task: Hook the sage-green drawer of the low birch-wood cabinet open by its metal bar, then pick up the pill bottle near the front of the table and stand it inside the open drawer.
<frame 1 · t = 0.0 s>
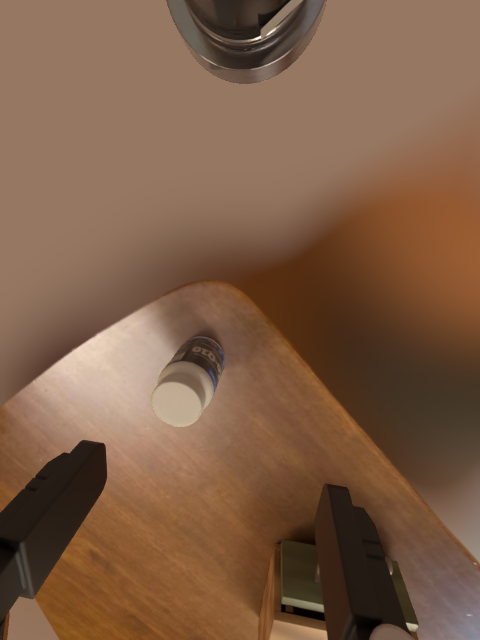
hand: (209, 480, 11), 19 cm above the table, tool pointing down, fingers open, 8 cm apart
pill bottle: (203, 355, 30), on the table
cabinet: (321, 594, 39), on the table
drawer: (334, 604, 34), point 4 cm above the table, slide at 1.0 cm
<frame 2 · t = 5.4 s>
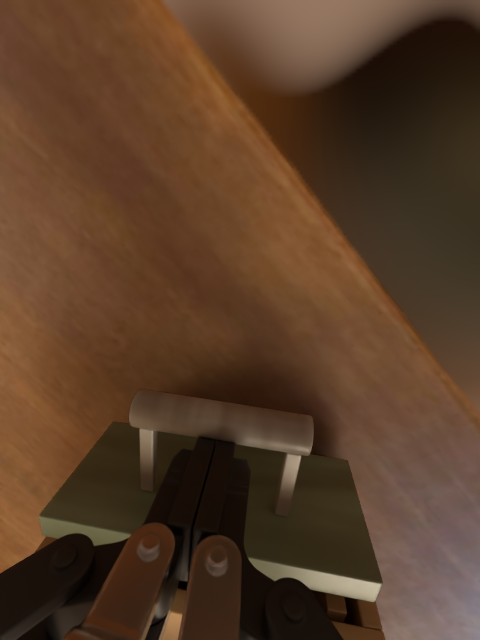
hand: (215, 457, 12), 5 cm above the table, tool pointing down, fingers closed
cabinet: (216, 545, 21), on the table
drawer: (210, 550, 16), point 4 cm above the table, slide at 1.3 cm, touching gripper
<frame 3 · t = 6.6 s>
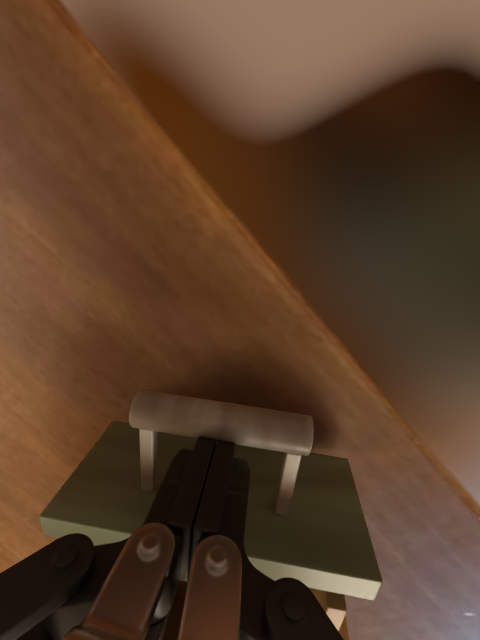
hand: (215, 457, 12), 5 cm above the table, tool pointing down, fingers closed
drawer: (211, 548, 16), point 4 cm above the table, slide at 5.6 cm, touching gripper
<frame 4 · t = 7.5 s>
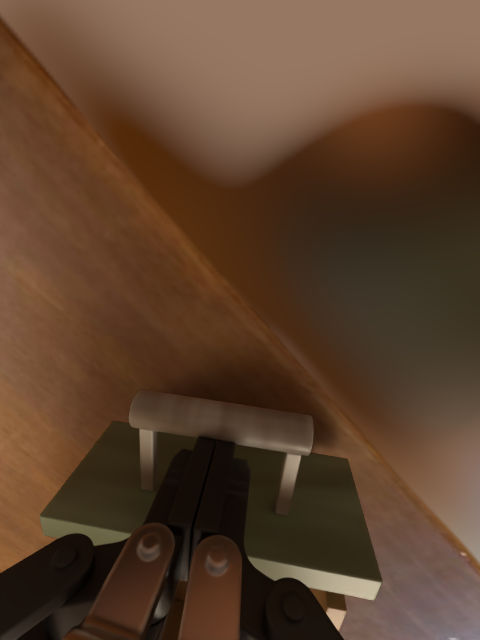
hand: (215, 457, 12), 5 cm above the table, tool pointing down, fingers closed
drawer: (211, 548, 16), point 4 cm above the table, slide at 8.7 cm, touching gripper
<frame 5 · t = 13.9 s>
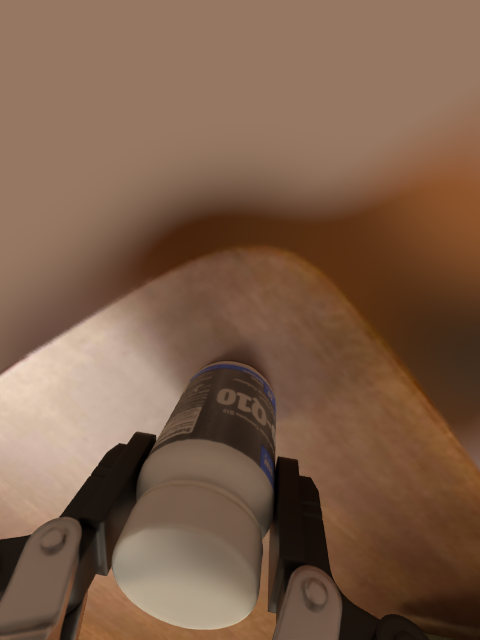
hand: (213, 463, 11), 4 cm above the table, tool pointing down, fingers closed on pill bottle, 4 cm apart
pill bottle: (231, 396, 16), on the table, touching gripper
when the fingers open (6 cm above the table, at t = 20.8 s): pill bottle stays where it is, resting on drawer.
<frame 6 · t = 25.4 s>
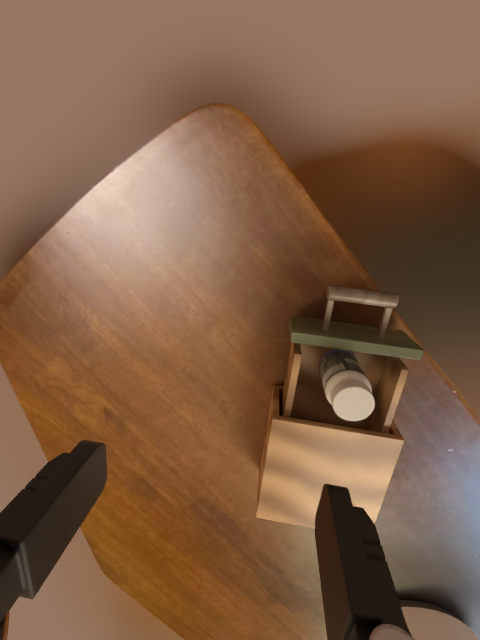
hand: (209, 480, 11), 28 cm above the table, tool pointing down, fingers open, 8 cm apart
pot: (404, 628, 54), on the table
pill bottle: (337, 364, 37), point 2 cm above the table, touching drawer
cabinet: (316, 438, 43), on the table
drawer: (341, 368, 35), point 4 cm above the table, slide at 9.2 cm, touching pill bottle
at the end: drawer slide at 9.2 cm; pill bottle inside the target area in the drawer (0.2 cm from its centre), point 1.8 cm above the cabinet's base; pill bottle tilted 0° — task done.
